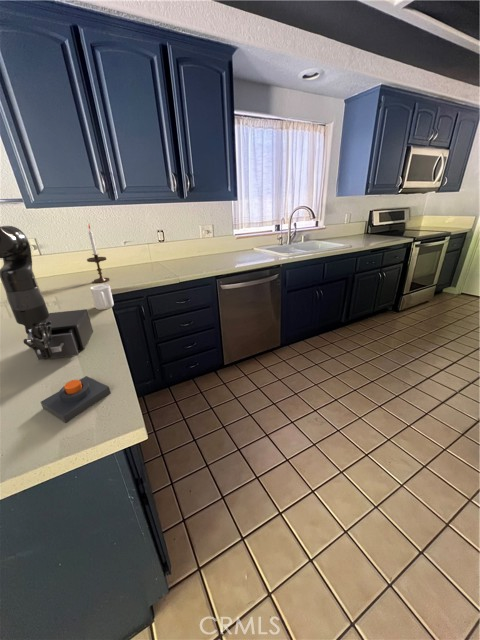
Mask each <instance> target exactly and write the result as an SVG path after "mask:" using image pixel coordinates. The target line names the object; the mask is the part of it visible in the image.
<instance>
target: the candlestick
mask: <svg viewBox="0 0 480 640" xmlns="http://www.w3.org/2000/svg"><path fill="white" fill-rule="evenodd" d="M88 235H89V240H90V245H91V248H92V253H93V254H91V255H92V257H88V258H86V261H87V262H88V263H95V264H96V266H97V269H96V271H97V275H99V277H98V278H95V279H93V283H95V284H105V283H108V282H110V278H109V277H103V272H102V270H103V269H102V268H101V266H100V263H101V262H104V261H106V260H107V257H106V256H99V253H98V251H97V247H96V243H95V239H94V238H95V237H94V234H93V231H92V230H91V225H90V223H88Z"/></svg>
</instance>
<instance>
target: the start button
mask: <svg viewBox="0 0 480 640" xmlns="http://www.w3.org/2000/svg"><path fill="white" fill-rule="evenodd" d="M63 386H64V388H65V391H66V393H67V394H73V393H76V392H78V391H80V390H81V389H82V384H81V381H80V379H73V380H72V379H71V380H70V381H68V382H66V383H65V384H64V385H63Z"/></svg>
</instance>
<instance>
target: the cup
mask: <svg viewBox="0 0 480 640" xmlns="http://www.w3.org/2000/svg"><path fill="white" fill-rule="evenodd" d="M89 289H90V293H91V297H92V300H93V304H94V307H95V308H96V309H97V310H99V311H101V310H102V311H103V310H108V309H111V308H113V307H114V305H115V303H114V299H113V298H114V297H113V294H112V290H111V285H110V284H107V283H100V284H95V285H93V286H91V287H90V288H89Z"/></svg>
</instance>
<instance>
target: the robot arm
mask: <svg viewBox="0 0 480 640" xmlns="http://www.w3.org/2000/svg"><path fill="white" fill-rule="evenodd" d="M0 259H2V262H3V263H2V264H3V265H2V267H1V268H0V281H1V283H2V286H3V289H4V291H5V295H6V299H7V302H8V304H9V305H8V306H9V307H10V309H11V312H12V314H13V317H14V319H15V322H16V323H17V324H18V325H23V326H24V330H25V333H26V335H27V338H25V339H23V344H24V345H26V346H27V347H29V348H30V349H32V351H34V350H40V352H41V355H42V358H43V359H45V360H51V359H50V358H51V357H52V356H53V354H52V351H51V348H50V340H52V323H51V321H48V322H46V319H47V318H48V317H49V313H50V312H49V310H48V305H47V303H46V300H45V298H44V295H43V292H42V291H41V288H40V287H39V284H38V280H37V277H36V275H35V272H34V270H33V257H32V249H31V244H30V241H29V239H28V237H27V236H26V234H25V233H24V232H23V231H22V230H21V229H19V228H18V227H16V226H14V225H2V226H0Z"/></svg>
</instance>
